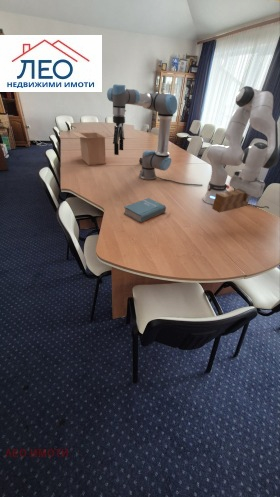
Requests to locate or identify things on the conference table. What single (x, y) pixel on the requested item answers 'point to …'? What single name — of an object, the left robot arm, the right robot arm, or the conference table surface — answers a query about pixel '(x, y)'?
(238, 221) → the conference table surface
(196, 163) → the conference table surface
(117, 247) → the conference table surface
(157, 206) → the book
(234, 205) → the bar
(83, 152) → the box
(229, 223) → the conference table surface
